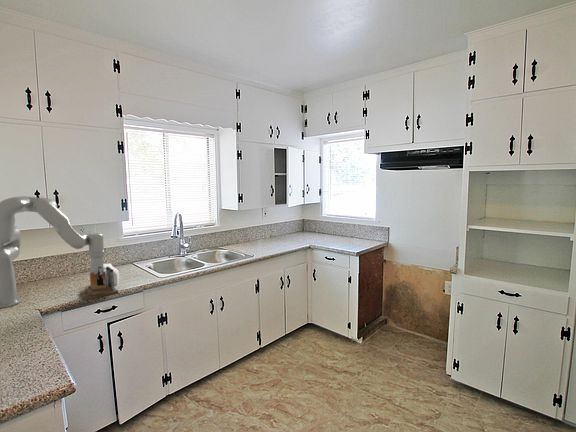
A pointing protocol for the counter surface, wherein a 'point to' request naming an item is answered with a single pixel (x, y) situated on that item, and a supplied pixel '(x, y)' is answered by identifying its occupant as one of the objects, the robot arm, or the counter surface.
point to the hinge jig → (97, 293)
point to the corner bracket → (115, 273)
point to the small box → (94, 281)
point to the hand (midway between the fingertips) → (98, 283)
